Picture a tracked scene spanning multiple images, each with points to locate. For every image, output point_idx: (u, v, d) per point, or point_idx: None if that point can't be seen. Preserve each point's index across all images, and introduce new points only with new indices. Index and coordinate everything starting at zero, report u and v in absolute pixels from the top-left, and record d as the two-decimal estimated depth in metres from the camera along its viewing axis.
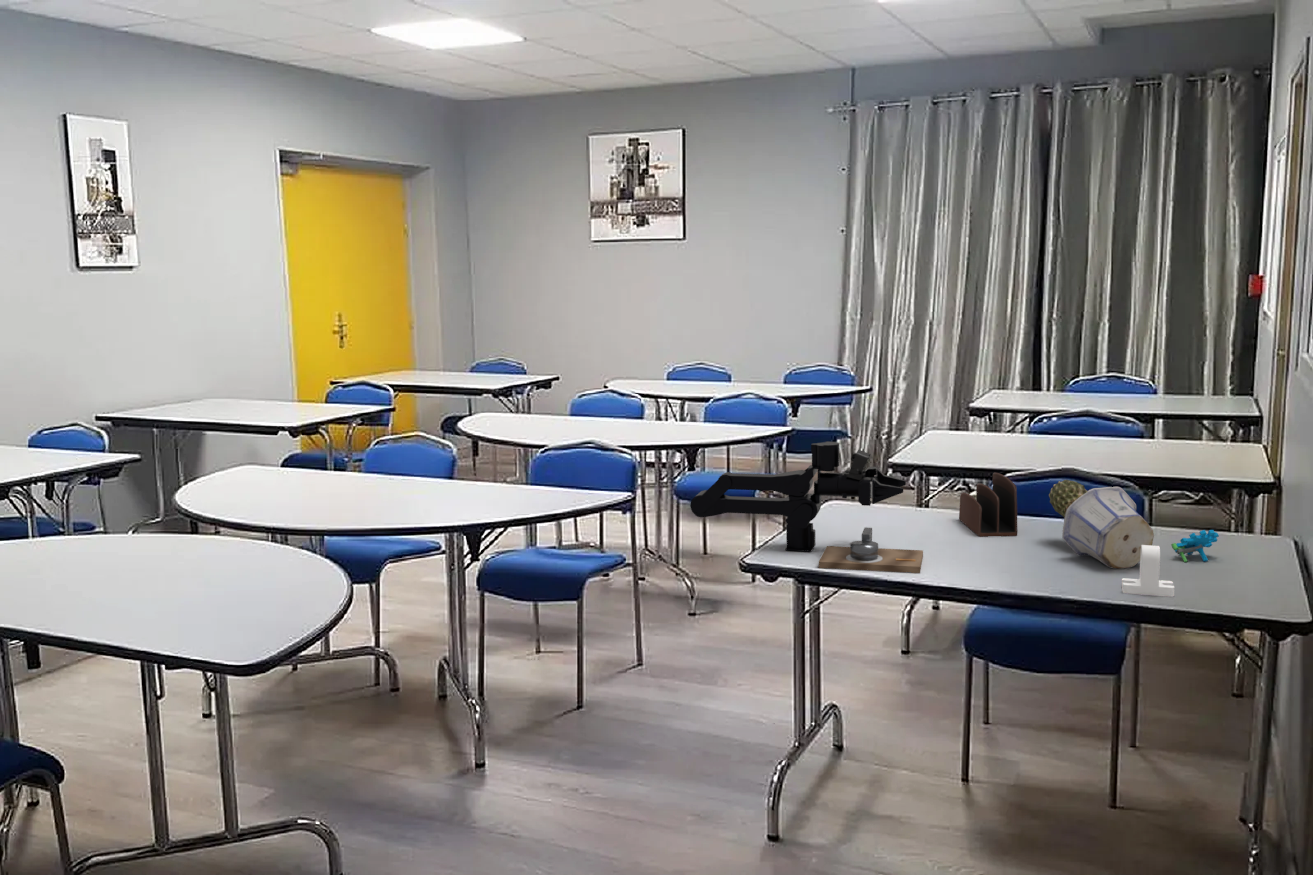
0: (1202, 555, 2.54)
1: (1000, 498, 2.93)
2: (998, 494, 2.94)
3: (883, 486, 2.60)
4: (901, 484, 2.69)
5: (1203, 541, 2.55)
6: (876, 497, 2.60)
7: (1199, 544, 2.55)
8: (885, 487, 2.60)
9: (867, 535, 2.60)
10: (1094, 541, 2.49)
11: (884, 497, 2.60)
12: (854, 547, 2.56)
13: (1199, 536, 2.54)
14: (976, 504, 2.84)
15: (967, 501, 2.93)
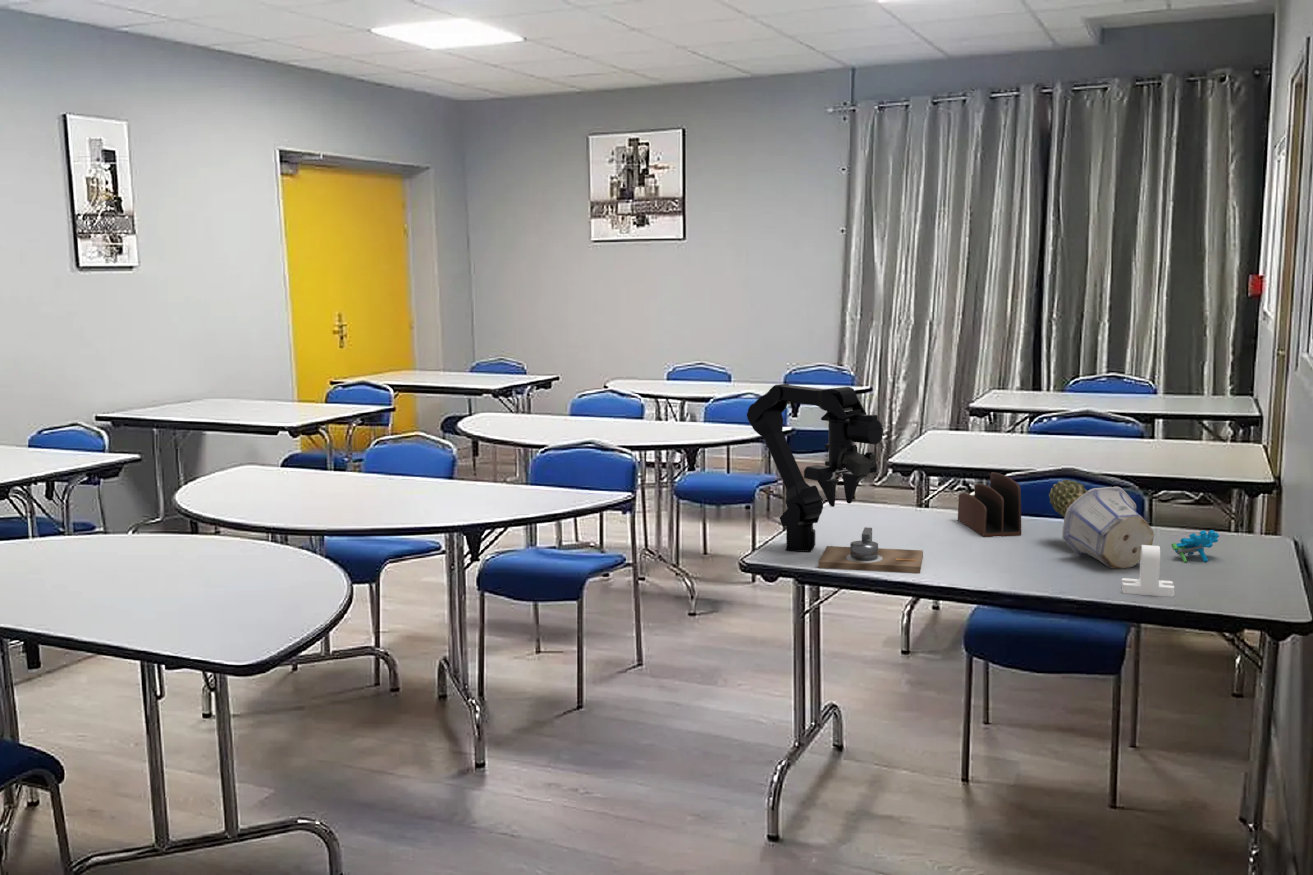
0: (1202, 555, 2.54)
1: None
2: None
3: (830, 489, 2.59)
4: (847, 498, 2.64)
5: (1203, 541, 2.55)
6: (821, 481, 2.61)
7: (1199, 544, 2.55)
8: (830, 491, 2.59)
9: (867, 535, 2.60)
10: (1094, 541, 2.49)
11: (823, 488, 2.61)
12: (854, 547, 2.56)
13: (1199, 536, 2.54)
14: (980, 504, 2.84)
15: (968, 501, 2.92)
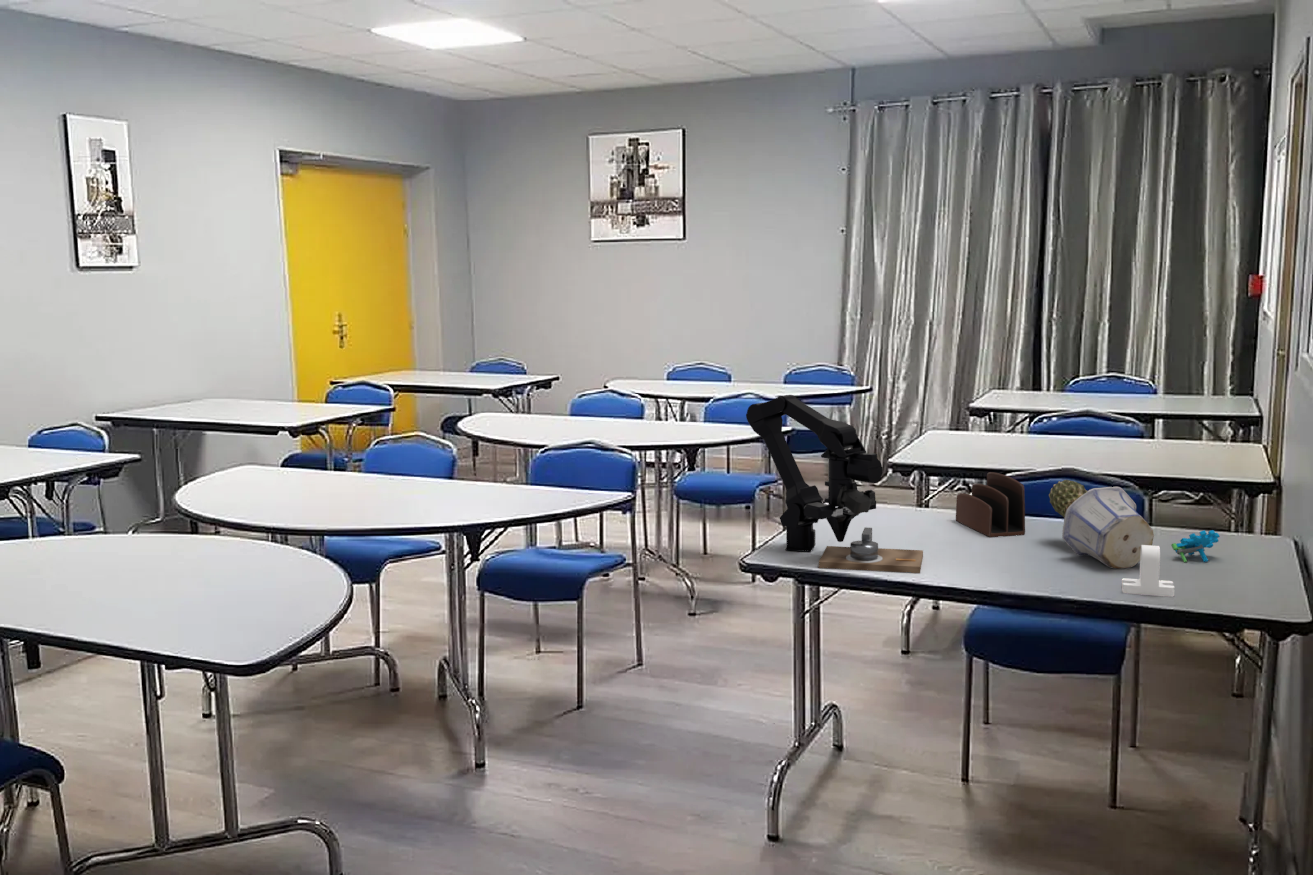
0: (1202, 555, 2.53)
1: None
2: None
3: (838, 525, 2.62)
4: None
5: (1204, 541, 2.55)
6: (829, 517, 2.63)
7: (1199, 544, 2.55)
8: (838, 526, 2.62)
9: (867, 535, 2.60)
10: (1094, 541, 2.49)
11: (830, 524, 2.64)
12: (854, 547, 2.56)
13: (1199, 536, 2.54)
14: (984, 504, 2.83)
15: (969, 502, 2.92)
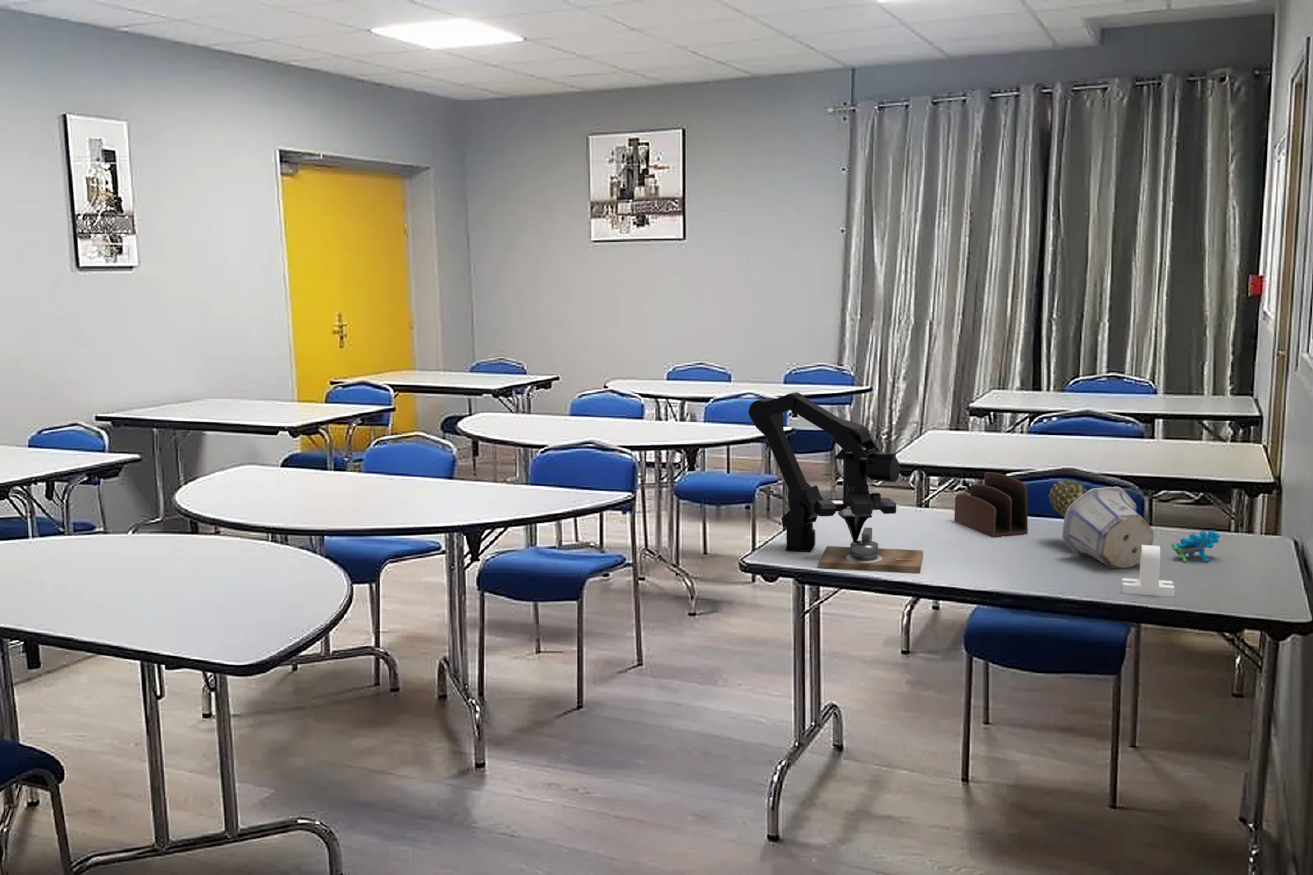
0: (1202, 556, 2.53)
1: None
2: None
3: (849, 525, 2.63)
4: None
5: (1204, 542, 2.55)
6: None
7: (1200, 545, 2.55)
8: (849, 526, 2.63)
9: (867, 535, 2.60)
10: (1094, 541, 2.49)
11: (847, 523, 2.66)
12: (854, 547, 2.56)
13: (1199, 536, 2.53)
14: (987, 505, 2.83)
15: (969, 502, 2.91)
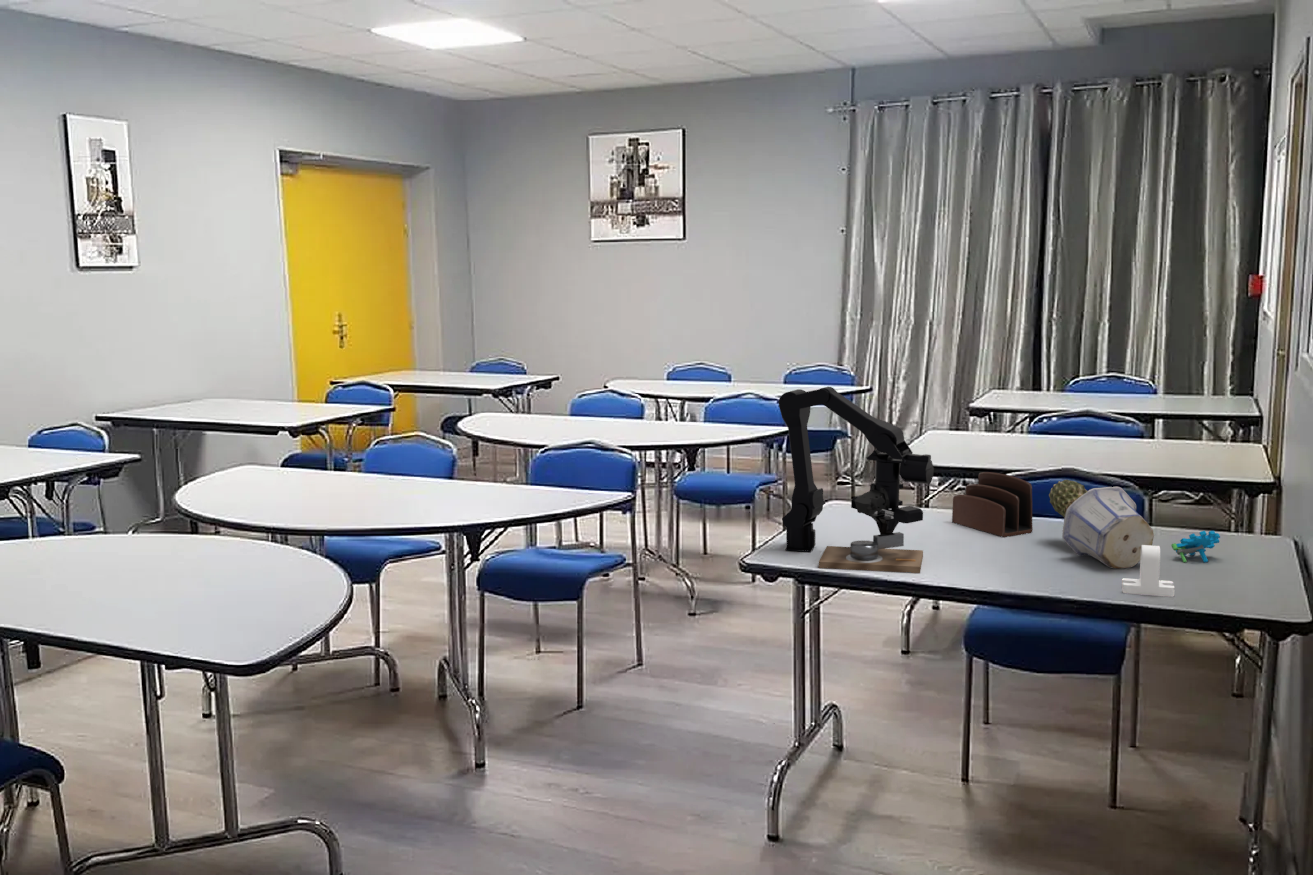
0: (1202, 556, 2.53)
1: None
2: None
3: None
4: None
5: (1204, 542, 2.55)
6: None
7: (1200, 545, 2.54)
8: None
9: (876, 537, 2.58)
10: (1094, 541, 2.49)
11: None
12: None
13: (1199, 537, 2.53)
14: (994, 505, 2.83)
15: (971, 503, 2.90)
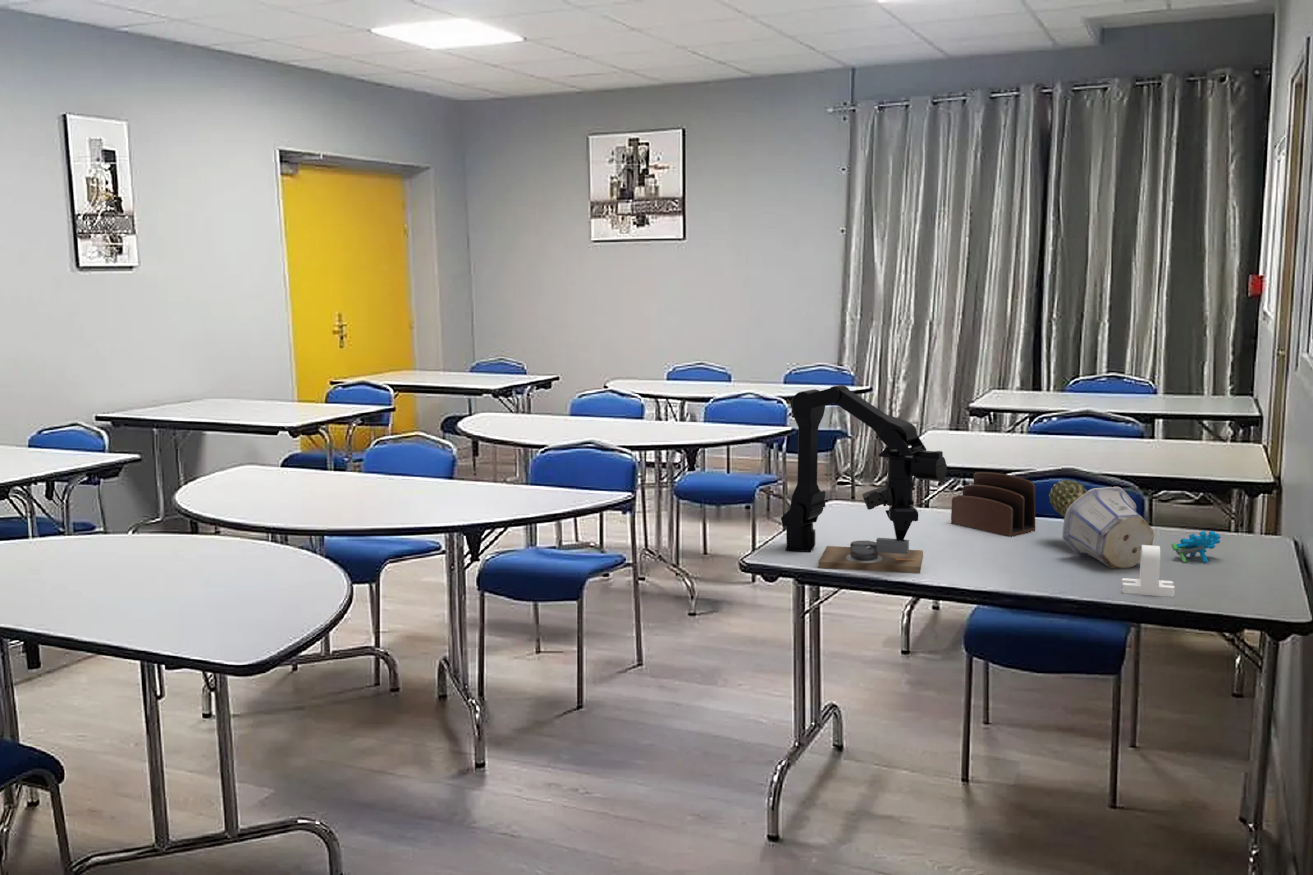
0: (1202, 556, 2.53)
1: None
2: None
3: None
4: None
5: (1204, 542, 2.54)
6: None
7: (1200, 545, 2.54)
8: None
9: None
10: (1094, 541, 2.49)
11: None
12: None
13: (1200, 537, 2.53)
14: (1000, 505, 2.83)
15: (973, 503, 2.90)
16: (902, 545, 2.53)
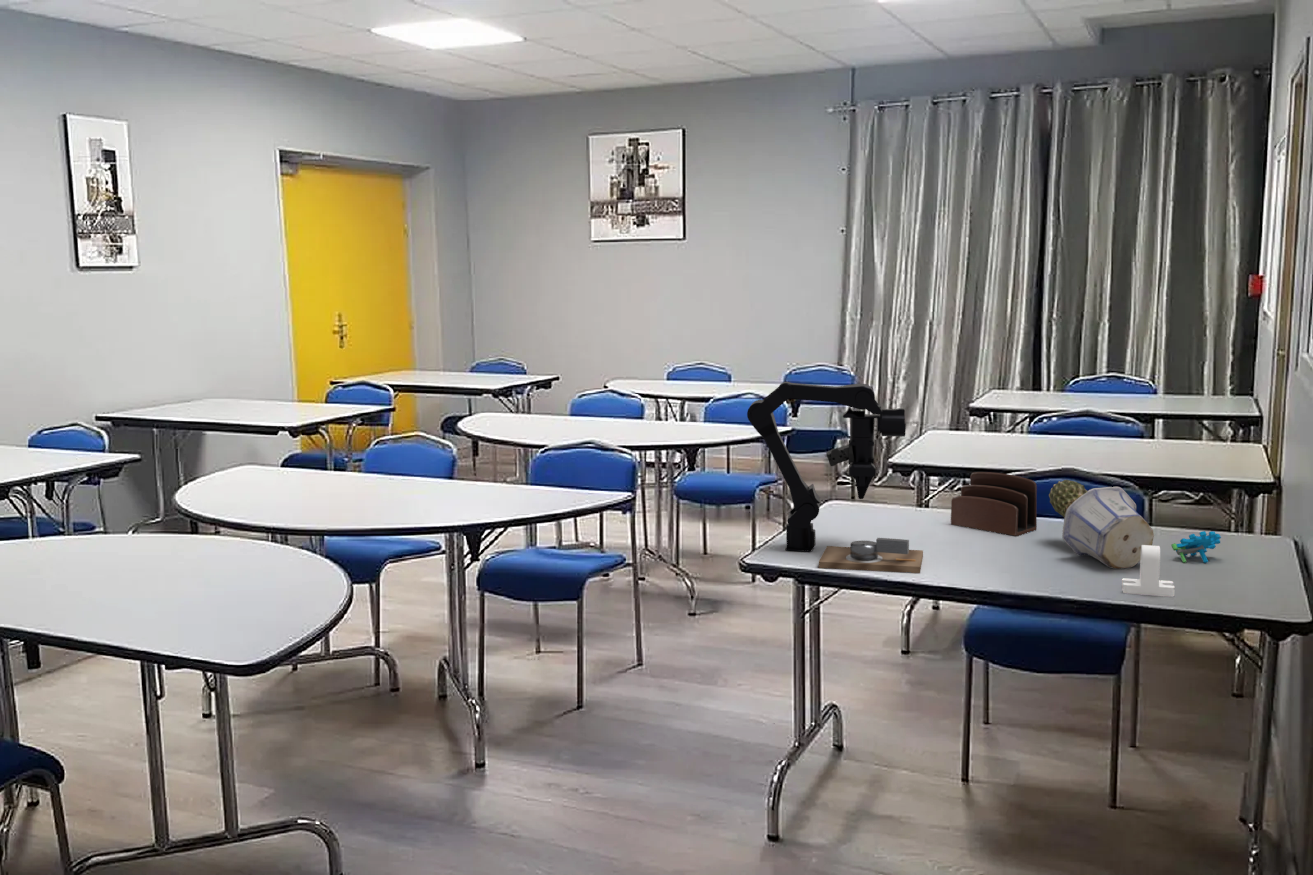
0: (1202, 556, 2.53)
1: None
2: None
3: None
4: None
5: (1205, 542, 2.54)
6: None
7: (1200, 545, 2.54)
8: None
9: None
10: (1094, 541, 2.49)
11: None
12: None
13: (1200, 537, 2.53)
14: (1004, 504, 2.83)
15: (975, 504, 2.89)
16: (902, 545, 2.53)
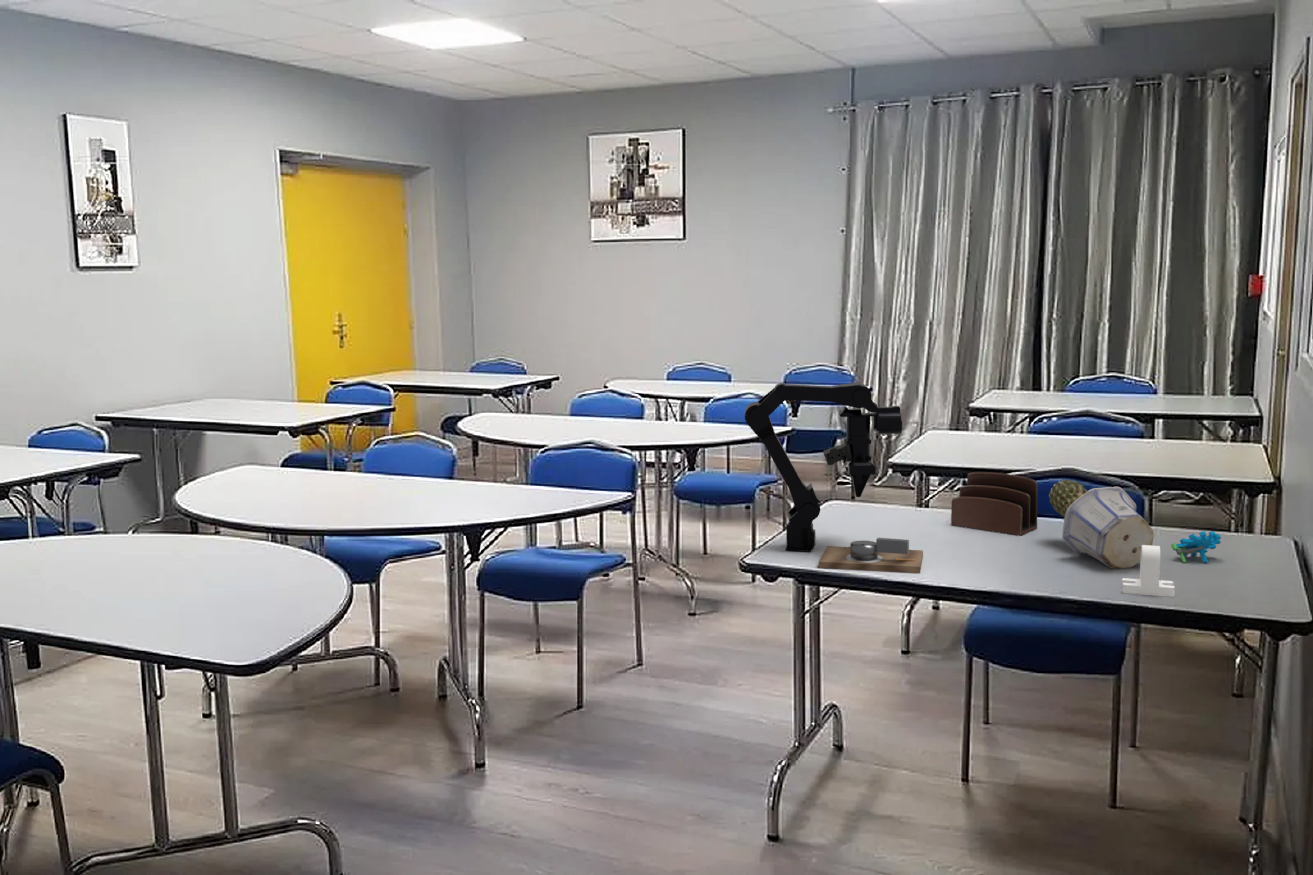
0: (1202, 556, 2.53)
1: None
2: None
3: None
4: None
5: (1205, 542, 2.54)
6: None
7: (1200, 545, 2.54)
8: None
9: None
10: (1094, 541, 2.49)
11: None
12: None
13: (1200, 537, 2.53)
14: (1008, 504, 2.83)
15: (977, 504, 2.89)
16: (902, 545, 2.53)
